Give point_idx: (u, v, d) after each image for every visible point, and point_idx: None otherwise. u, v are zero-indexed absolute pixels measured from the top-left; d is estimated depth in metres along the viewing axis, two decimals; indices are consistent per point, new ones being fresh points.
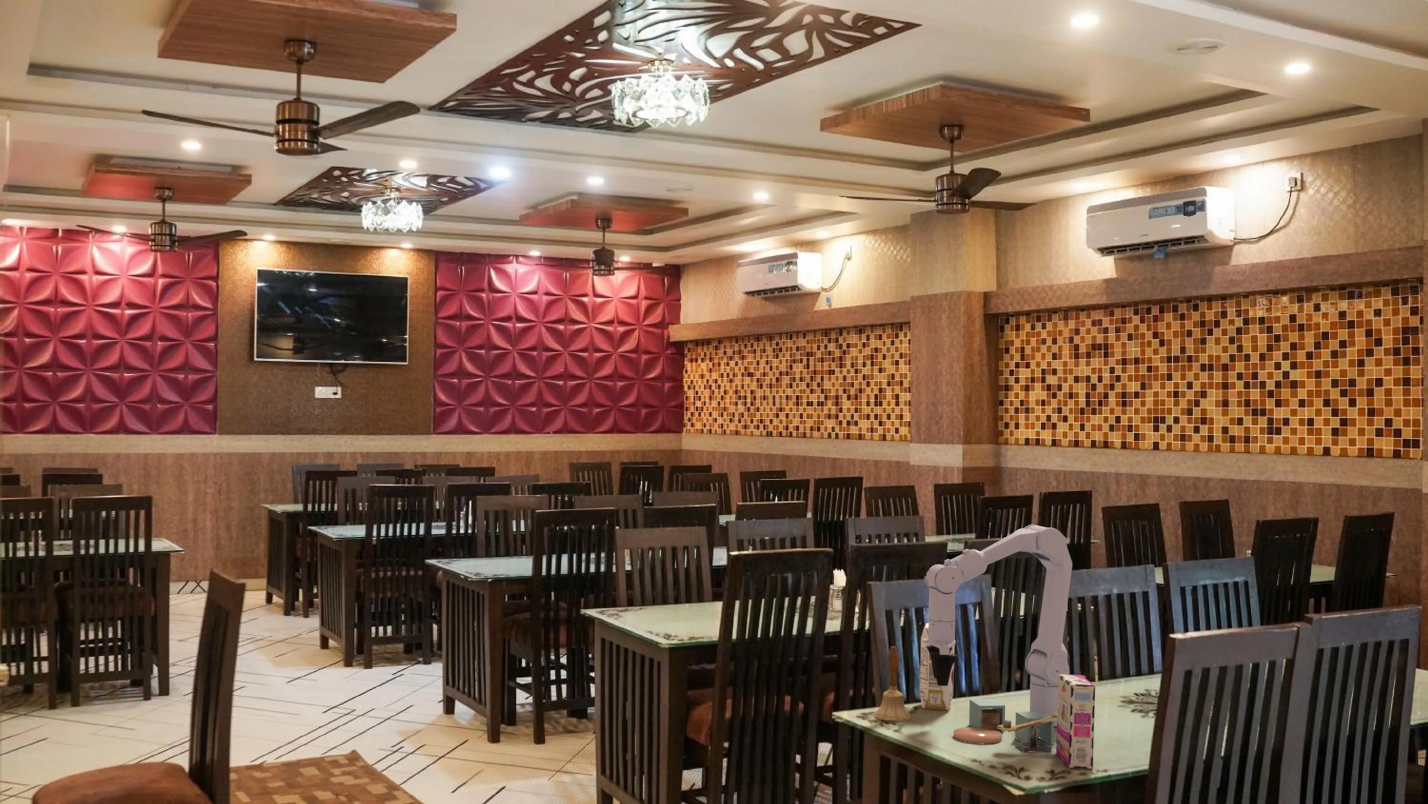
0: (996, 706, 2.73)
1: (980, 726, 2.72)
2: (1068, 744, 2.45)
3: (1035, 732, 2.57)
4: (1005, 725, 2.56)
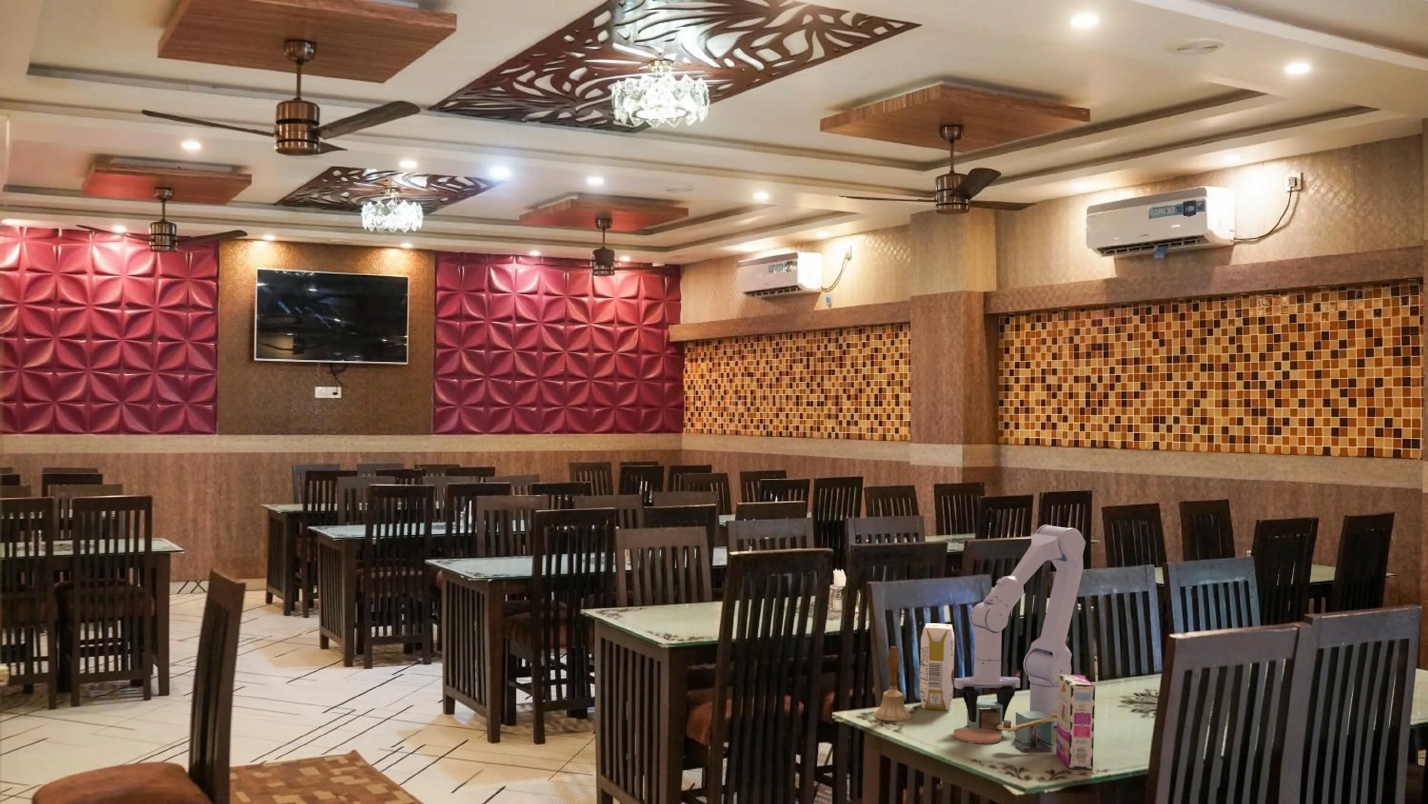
0: (993, 706, 2.73)
1: (977, 726, 2.72)
2: (1068, 744, 2.45)
3: (1035, 732, 2.57)
4: (1005, 725, 2.56)
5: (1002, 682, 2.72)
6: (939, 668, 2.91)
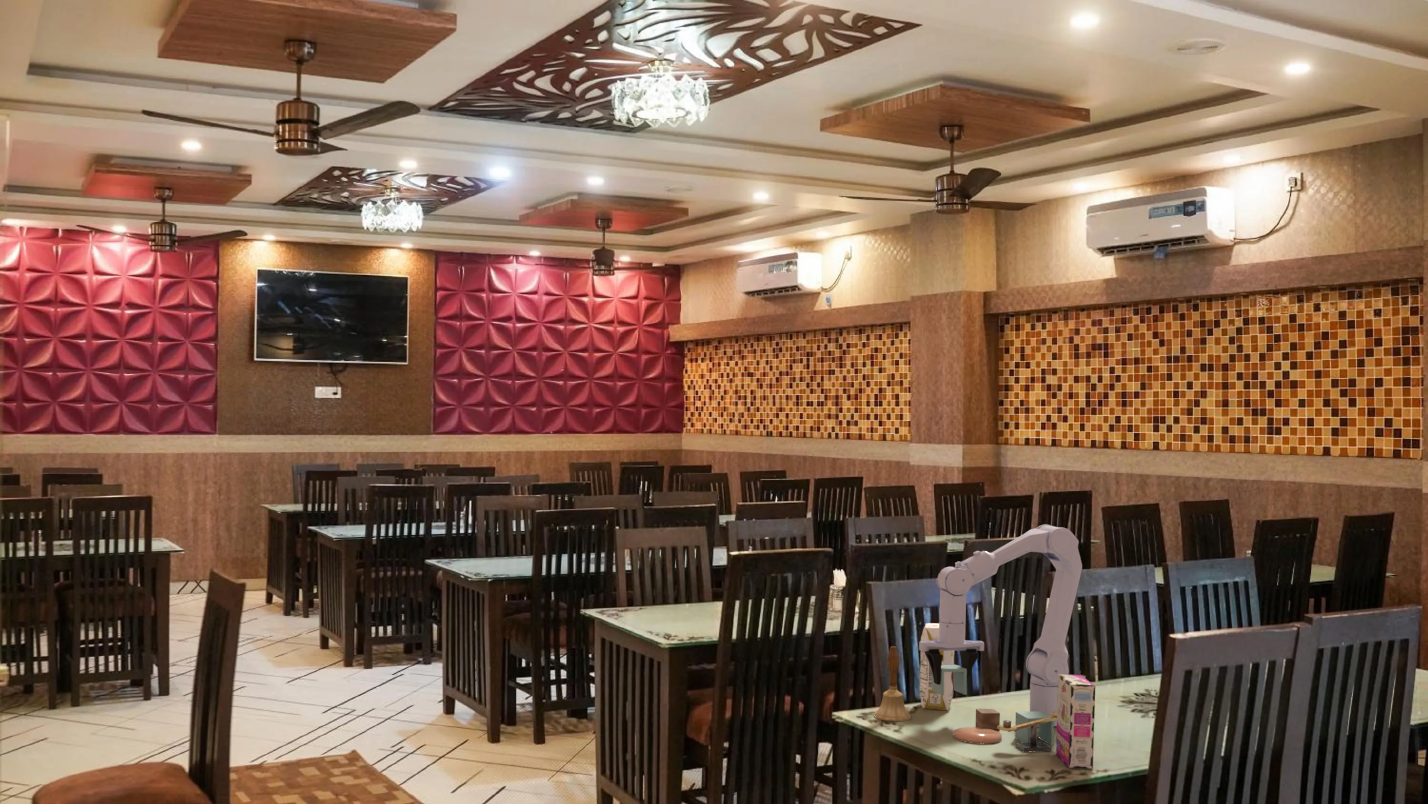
0: (958, 669, 2.76)
1: (942, 689, 2.75)
2: (1068, 744, 2.45)
3: (1035, 732, 2.57)
4: (1005, 725, 2.56)
5: (966, 645, 2.76)
6: None
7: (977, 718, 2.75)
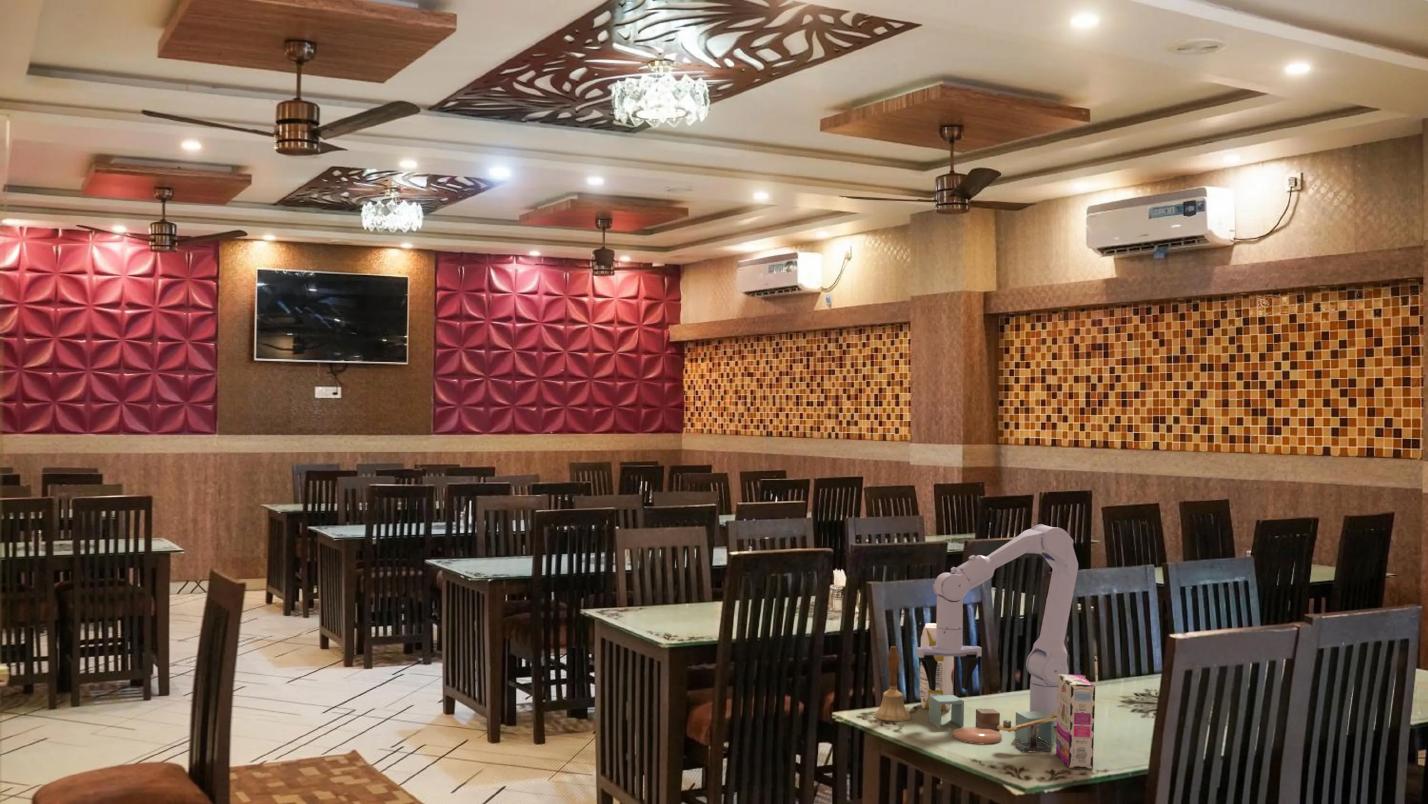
0: (955, 702, 2.76)
1: (939, 722, 2.75)
2: (1068, 744, 2.45)
3: (1035, 732, 2.57)
4: (1005, 725, 2.56)
5: (963, 651, 2.76)
6: (939, 668, 2.91)
7: (977, 718, 2.75)
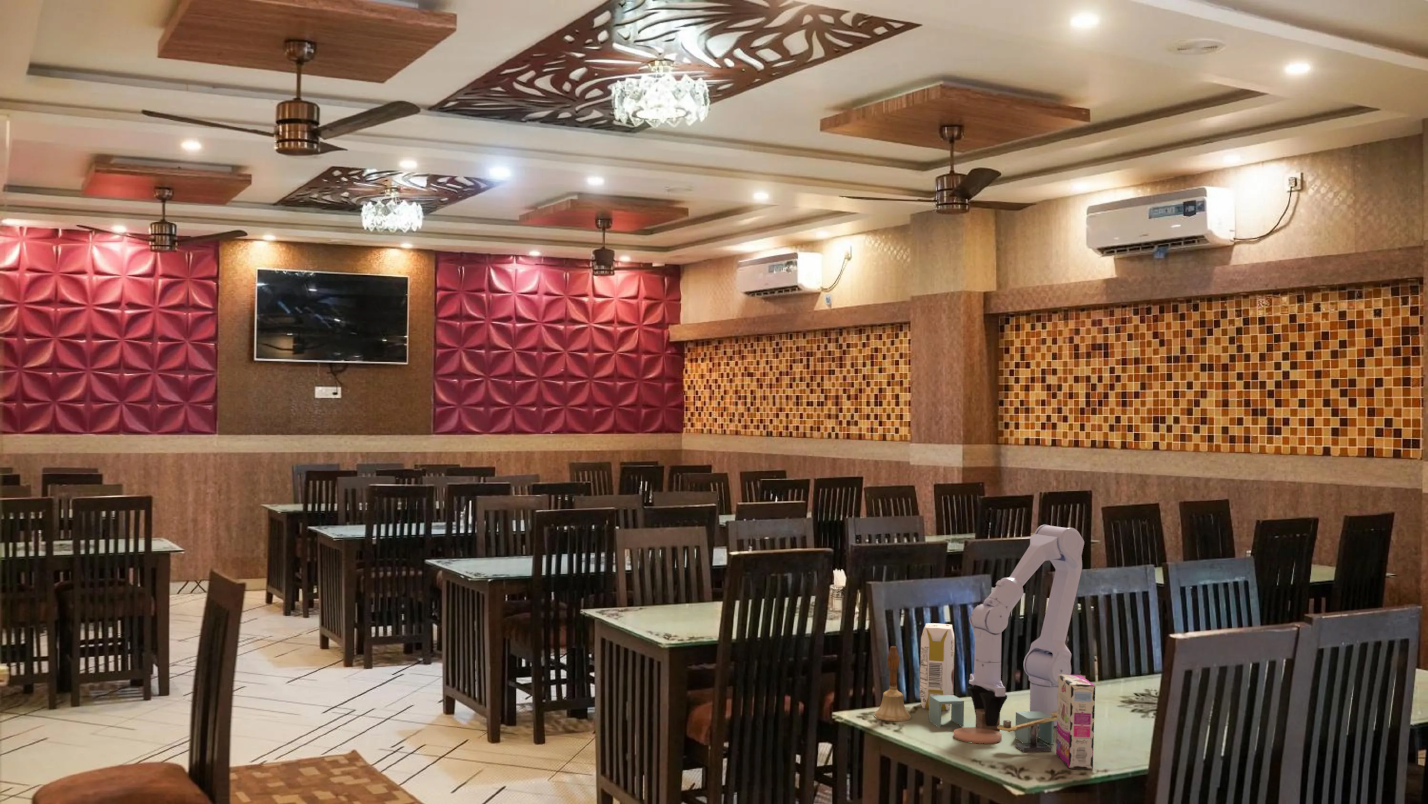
0: (955, 702, 2.76)
1: (939, 722, 2.75)
2: (1068, 744, 2.45)
3: (1035, 732, 2.57)
4: (1005, 725, 2.56)
5: None
6: (939, 668, 2.91)
7: (977, 718, 2.75)
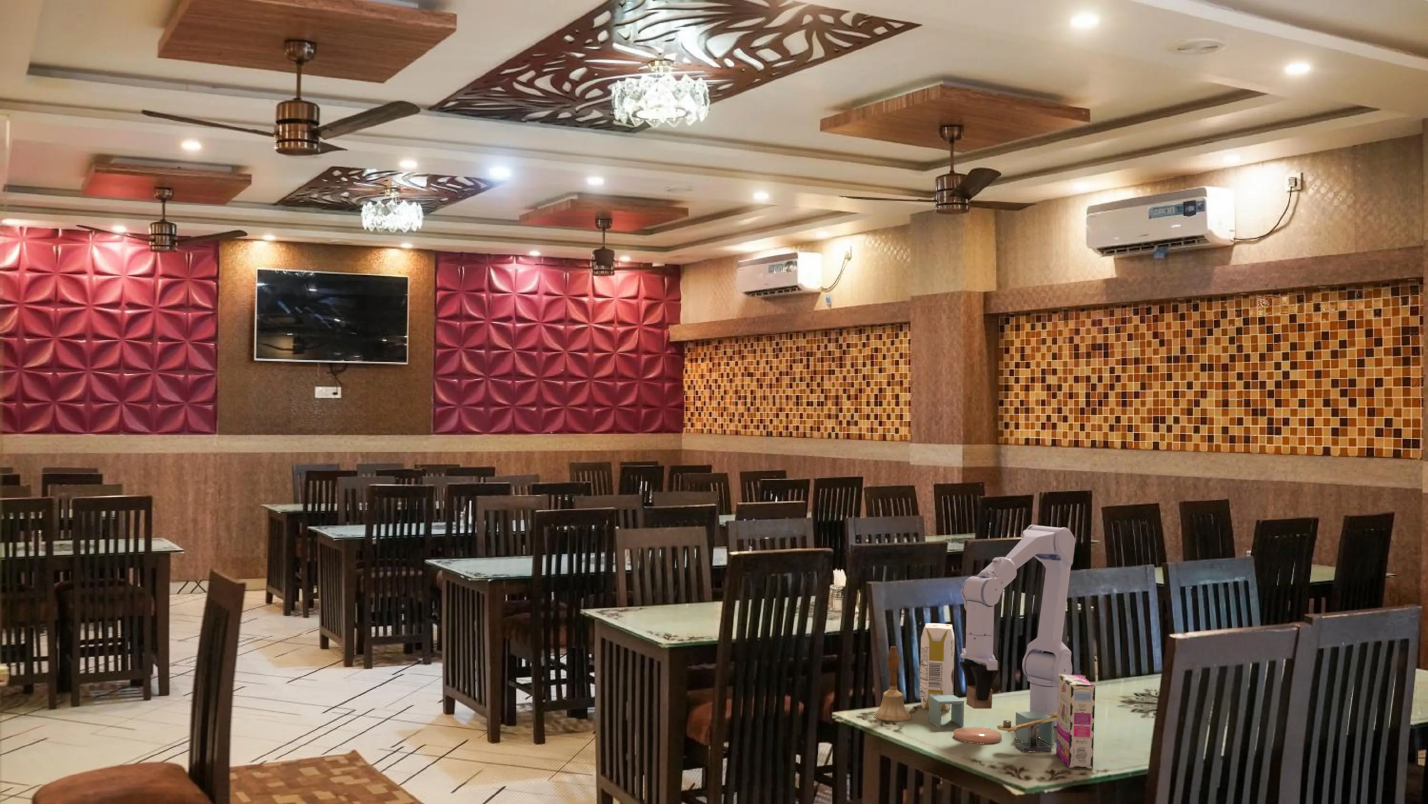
0: (955, 702, 2.76)
1: (939, 722, 2.75)
2: (1068, 744, 2.45)
3: (1035, 732, 2.57)
4: (1005, 725, 2.56)
5: None
6: (939, 668, 2.91)
7: (968, 695, 2.67)
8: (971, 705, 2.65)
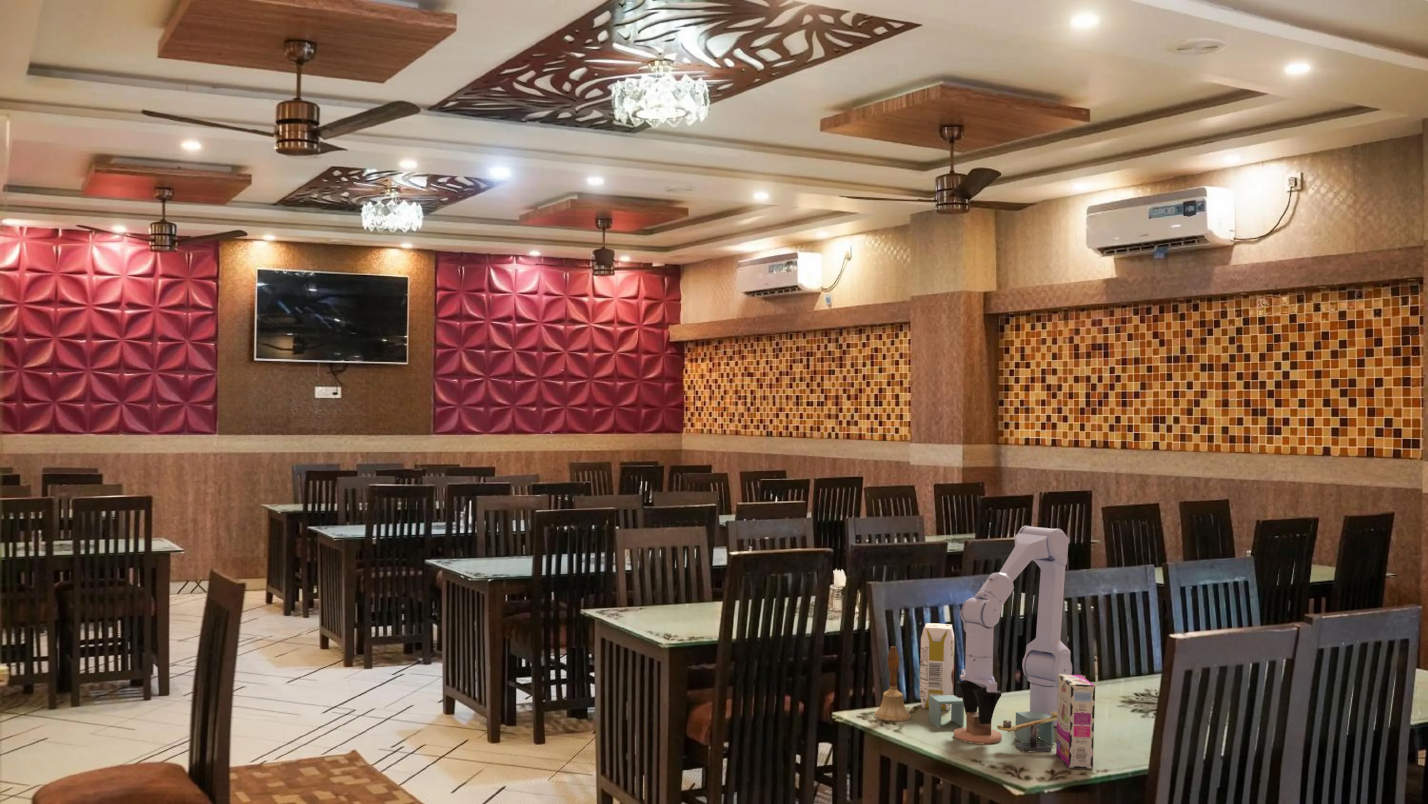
0: (955, 702, 2.76)
1: (939, 722, 2.75)
2: (1068, 744, 2.45)
3: (1035, 732, 2.57)
4: (1005, 725, 2.56)
5: None
6: (939, 668, 2.91)
7: (968, 722, 2.67)
8: (970, 732, 2.65)
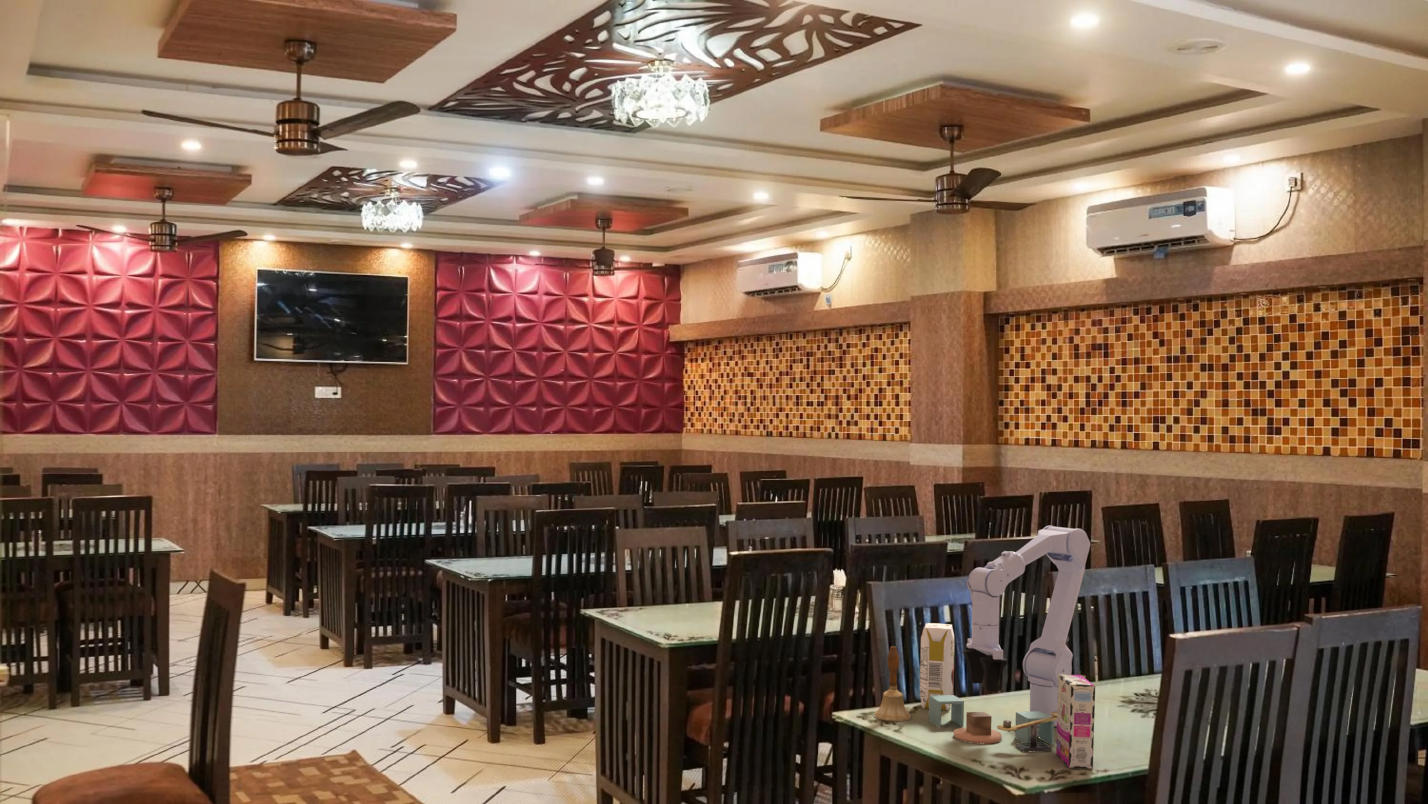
0: (955, 702, 2.76)
1: (939, 722, 2.75)
2: (1068, 744, 2.45)
3: (1035, 732, 2.57)
4: (1005, 725, 2.56)
5: None
6: (939, 668, 2.91)
7: (968, 722, 2.67)
8: (970, 732, 2.65)
